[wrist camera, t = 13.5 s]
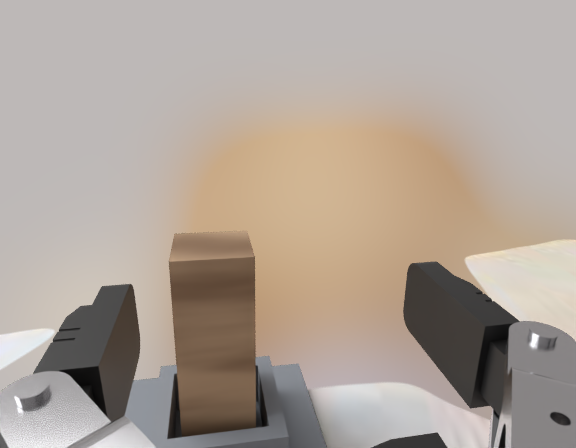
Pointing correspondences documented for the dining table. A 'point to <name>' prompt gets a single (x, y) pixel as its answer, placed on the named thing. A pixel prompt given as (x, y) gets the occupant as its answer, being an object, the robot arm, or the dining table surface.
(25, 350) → the dining table surface
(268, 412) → the slate stand
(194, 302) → the walnut block
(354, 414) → the dining table surface
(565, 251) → the dining table surface
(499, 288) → the dining table surface
